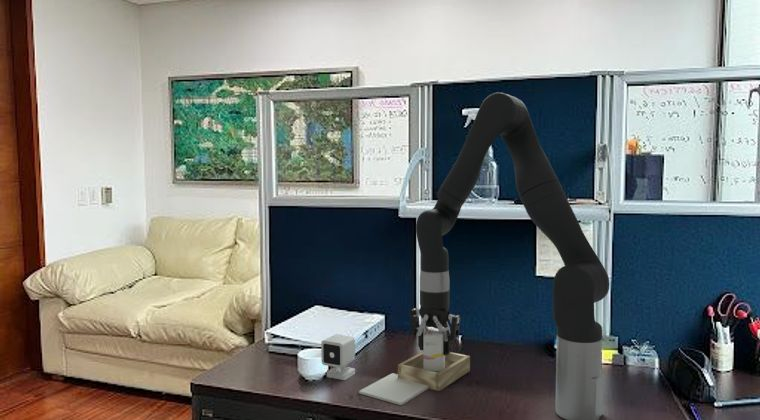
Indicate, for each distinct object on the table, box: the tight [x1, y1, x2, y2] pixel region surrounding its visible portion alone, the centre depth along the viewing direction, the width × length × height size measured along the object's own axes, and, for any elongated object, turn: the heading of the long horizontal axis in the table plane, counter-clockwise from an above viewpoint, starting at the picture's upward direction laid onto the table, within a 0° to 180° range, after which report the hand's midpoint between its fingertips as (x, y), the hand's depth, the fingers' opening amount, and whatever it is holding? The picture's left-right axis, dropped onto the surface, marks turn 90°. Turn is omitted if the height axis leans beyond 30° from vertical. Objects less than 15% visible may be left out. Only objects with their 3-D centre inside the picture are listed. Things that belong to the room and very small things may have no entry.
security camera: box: [320, 333, 356, 381], centre depth 150 cm, size 6×7×10 cm
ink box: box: [422, 320, 446, 373], centre depth 150 cm, size 9×5×15 cm, turn 168°
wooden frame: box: [397, 351, 471, 392], centre depth 150 cm, size 12×16×4 cm
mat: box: [358, 372, 430, 406], centre depth 142 cm, size 12×14×1 cm
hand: (434, 351), depth 150 cm, fingers closed on ink box, 6 cm apart
